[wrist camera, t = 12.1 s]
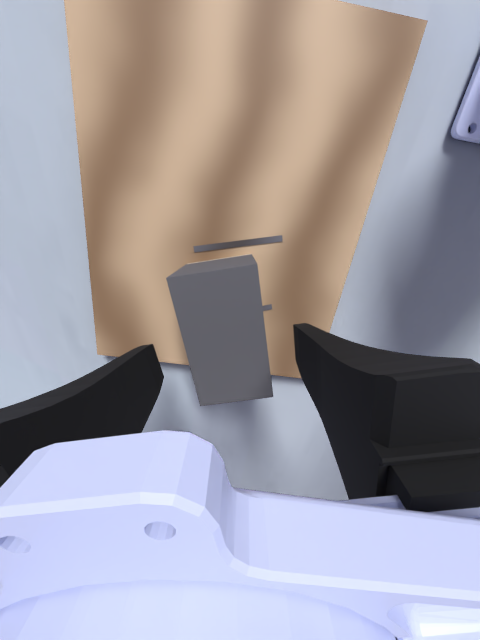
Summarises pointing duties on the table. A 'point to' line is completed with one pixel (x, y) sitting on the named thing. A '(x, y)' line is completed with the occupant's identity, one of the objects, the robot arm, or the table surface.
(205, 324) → the block
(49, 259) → the table surface
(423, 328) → the table surface
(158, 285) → the oak board
